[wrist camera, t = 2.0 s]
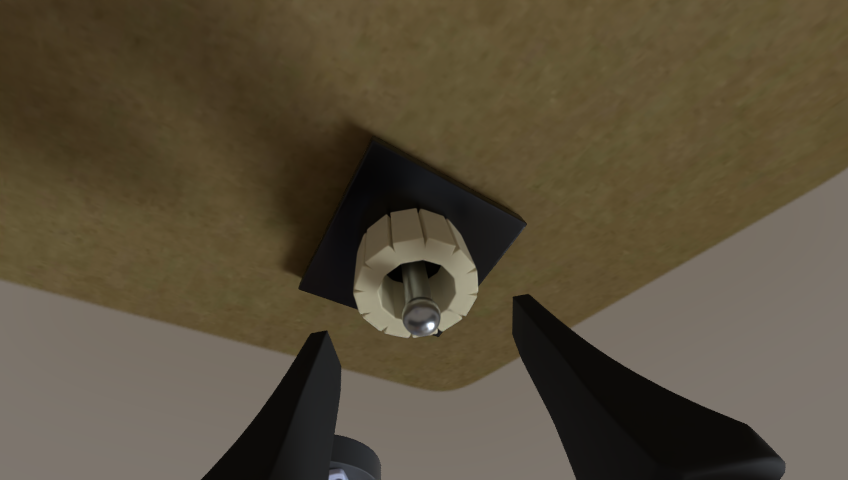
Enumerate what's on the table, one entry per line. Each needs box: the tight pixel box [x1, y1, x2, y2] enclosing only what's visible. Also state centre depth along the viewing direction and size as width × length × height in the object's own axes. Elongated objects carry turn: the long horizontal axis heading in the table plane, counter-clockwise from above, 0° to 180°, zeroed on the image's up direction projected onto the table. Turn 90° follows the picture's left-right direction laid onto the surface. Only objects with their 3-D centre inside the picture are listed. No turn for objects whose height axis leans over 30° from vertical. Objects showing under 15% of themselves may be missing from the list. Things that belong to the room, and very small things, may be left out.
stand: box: [299, 136, 527, 337], centre depth 15 cm, size 9×9×6 cm
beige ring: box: [353, 208, 478, 338], centre depth 16 cm, size 6×6×3 cm
